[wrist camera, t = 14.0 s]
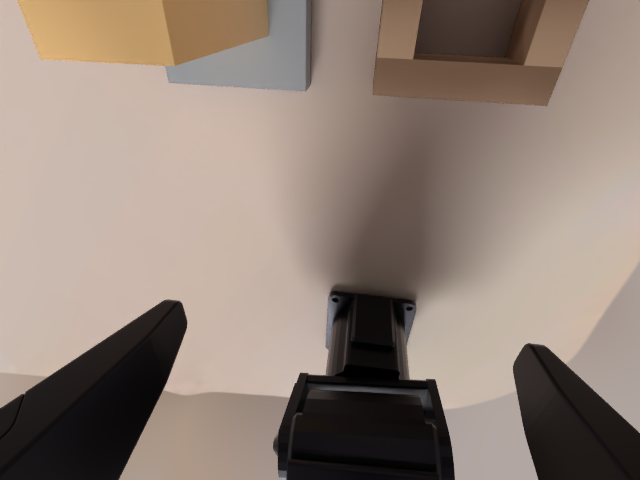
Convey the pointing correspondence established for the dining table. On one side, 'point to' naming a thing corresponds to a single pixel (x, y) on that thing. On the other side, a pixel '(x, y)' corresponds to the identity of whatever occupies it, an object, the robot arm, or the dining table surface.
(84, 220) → the dining table surface
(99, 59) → the amber plug
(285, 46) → the grey rubber mat
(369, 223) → the dining table surface
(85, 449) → the robot arm
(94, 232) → the dining table surface
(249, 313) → the dining table surface
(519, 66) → the brown square frame
